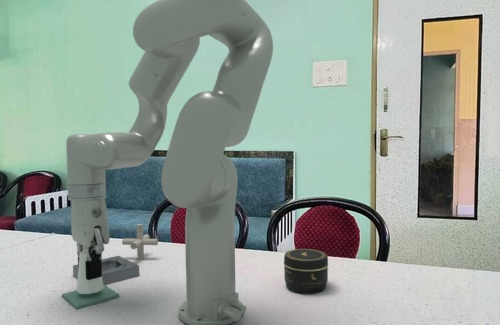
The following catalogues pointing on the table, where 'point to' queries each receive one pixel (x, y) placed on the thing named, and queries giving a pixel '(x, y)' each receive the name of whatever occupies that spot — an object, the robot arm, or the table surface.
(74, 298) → the mat
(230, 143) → the robot arm
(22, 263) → the table surface
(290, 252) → the jar
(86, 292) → the pepper shaker
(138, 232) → the pipe connector
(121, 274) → the frame
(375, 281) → the table surface
